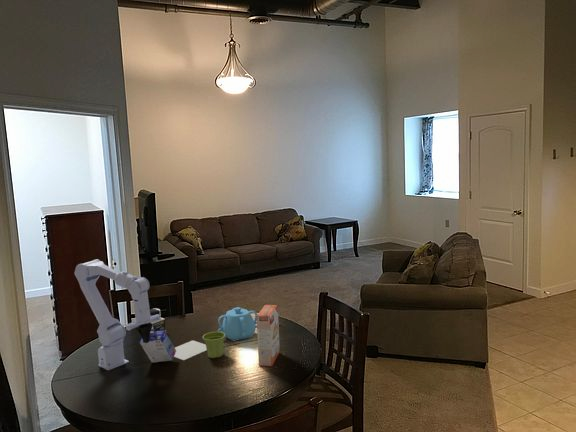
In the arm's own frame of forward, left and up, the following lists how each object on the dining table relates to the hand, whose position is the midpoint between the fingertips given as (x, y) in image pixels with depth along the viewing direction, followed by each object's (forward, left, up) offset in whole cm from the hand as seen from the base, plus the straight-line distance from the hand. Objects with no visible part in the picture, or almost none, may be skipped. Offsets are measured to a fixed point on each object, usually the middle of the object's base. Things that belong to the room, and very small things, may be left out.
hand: (146, 342), depth 189 cm
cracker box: (+34, -35, -11) cm, 50 cm away
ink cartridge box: (+9, +1, -10) cm, 13 cm away
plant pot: (+24, -13, -11) cm, 29 cm away
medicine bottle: (+25, +31, -11) cm, 41 cm away
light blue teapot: (+45, -6, -11) cm, 47 cm away
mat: (+21, +1, -11) cm, 24 cm away
